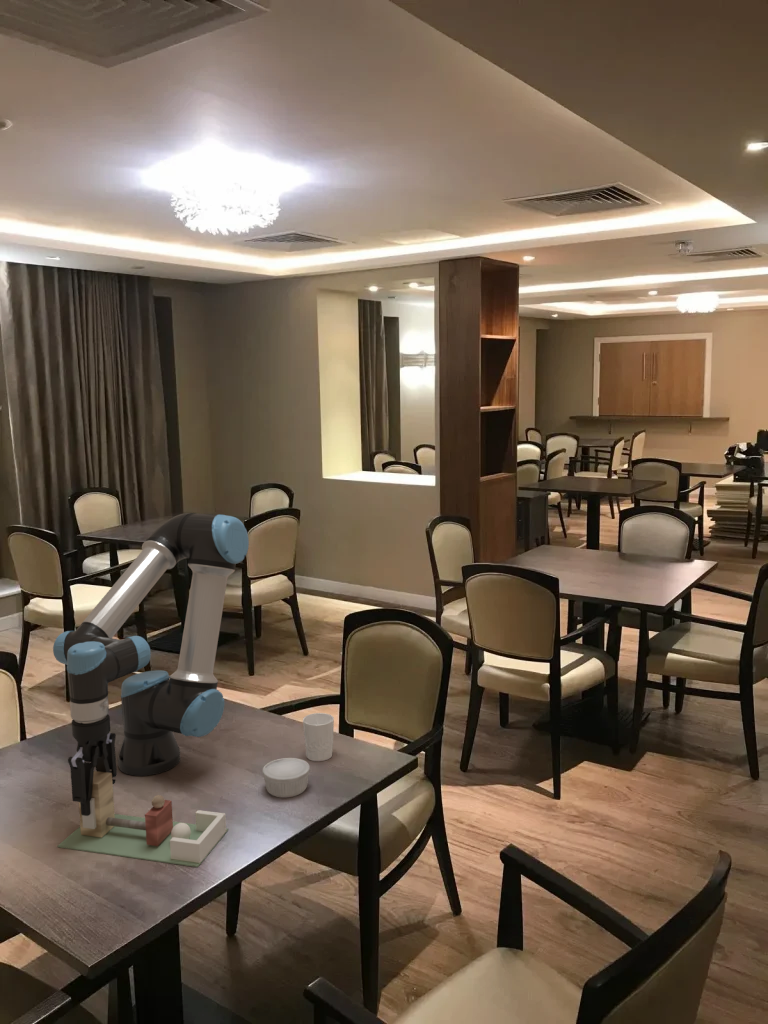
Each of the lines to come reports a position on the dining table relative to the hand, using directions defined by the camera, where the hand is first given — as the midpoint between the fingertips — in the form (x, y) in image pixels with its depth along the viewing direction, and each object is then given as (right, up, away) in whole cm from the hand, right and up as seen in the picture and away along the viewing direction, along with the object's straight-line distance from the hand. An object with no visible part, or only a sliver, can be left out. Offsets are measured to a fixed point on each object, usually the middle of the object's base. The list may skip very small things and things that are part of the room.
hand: (97, 820), depth 170 cm
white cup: (+44, +3, +35) cm, 57 cm away
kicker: (+7, -2, -1) cm, 7 cm away
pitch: (+11, -3, -2) cm, 11 cm away
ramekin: (+38, 0, +19) cm, 42 cm away
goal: (+24, -3, -6) cm, 25 cm away
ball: (+19, -1, -5) cm, 20 cm away
